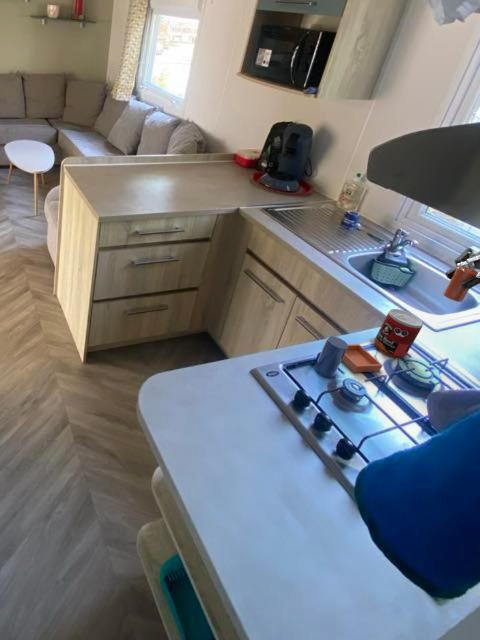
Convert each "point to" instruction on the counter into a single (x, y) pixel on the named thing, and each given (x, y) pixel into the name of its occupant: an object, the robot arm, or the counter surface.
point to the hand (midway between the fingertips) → (455, 281)
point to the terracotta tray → (360, 359)
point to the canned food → (398, 333)
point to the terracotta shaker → (458, 283)
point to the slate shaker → (331, 356)
